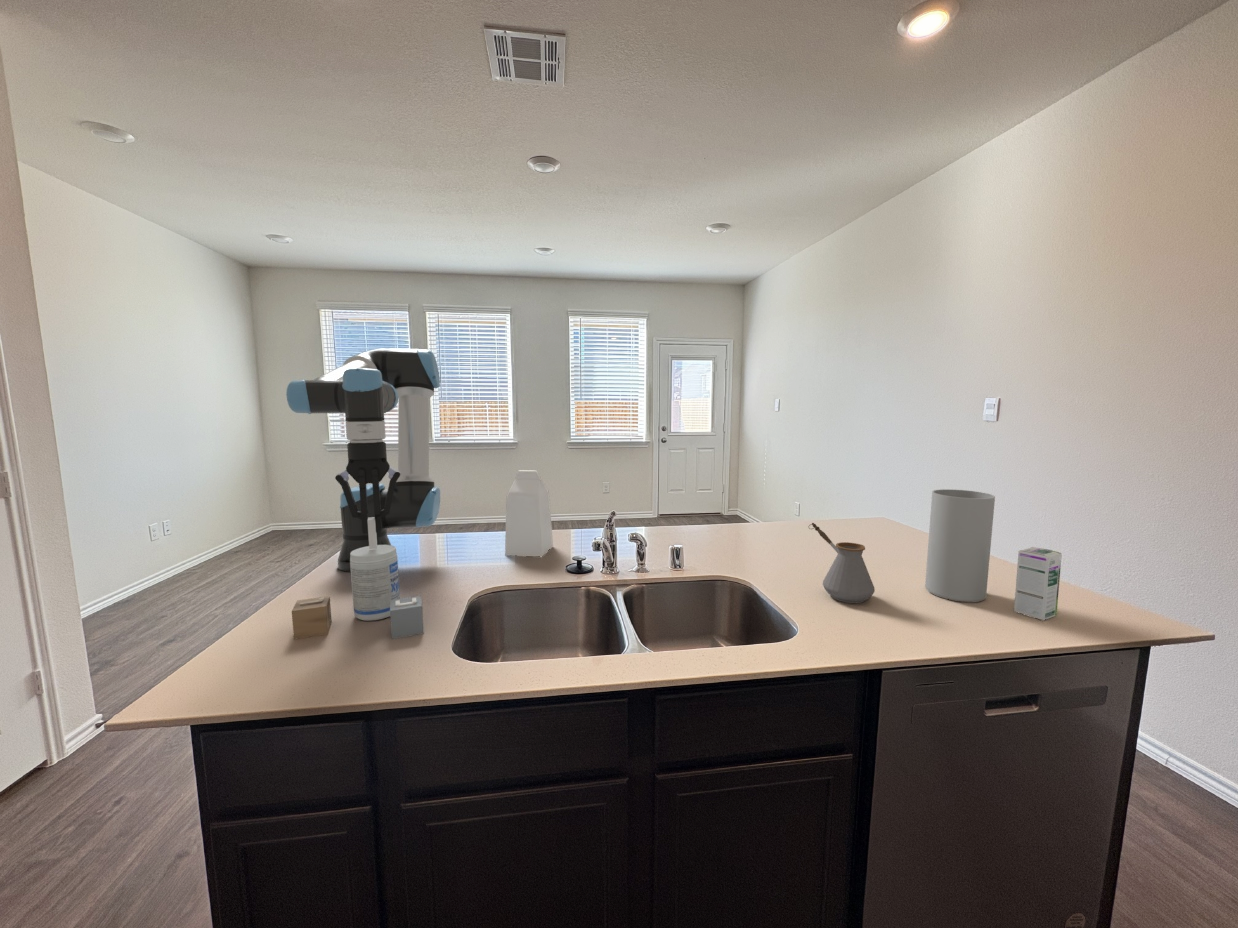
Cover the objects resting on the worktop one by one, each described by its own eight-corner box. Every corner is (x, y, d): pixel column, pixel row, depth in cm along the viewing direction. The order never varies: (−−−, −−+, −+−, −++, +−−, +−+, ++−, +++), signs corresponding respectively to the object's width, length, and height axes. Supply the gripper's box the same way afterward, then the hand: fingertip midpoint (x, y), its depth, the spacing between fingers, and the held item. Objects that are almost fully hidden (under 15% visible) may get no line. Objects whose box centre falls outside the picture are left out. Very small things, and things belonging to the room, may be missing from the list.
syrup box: (1044, 621, 107) (1050, 556, 106) (1012, 611, 113) (1018, 549, 111) (1056, 616, 110) (1063, 552, 108) (1025, 606, 115) (1031, 545, 114)
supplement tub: (404, 615, 112) (400, 551, 110) (356, 626, 106) (352, 559, 105) (396, 601, 120) (392, 541, 118) (351, 610, 114) (347, 548, 113)
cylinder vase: (995, 596, 121) (1005, 495, 118) (970, 607, 115) (979, 500, 112) (941, 581, 132) (948, 487, 129) (914, 590, 126) (921, 492, 122)
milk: (505, 555, 156) (502, 472, 152) (518, 545, 167) (516, 467, 164) (542, 557, 154) (540, 473, 150) (553, 546, 165) (551, 468, 162)
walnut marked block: (299, 627, 106) (297, 598, 105) (331, 622, 108) (329, 594, 108) (294, 639, 101) (291, 609, 100) (328, 633, 103) (326, 604, 102)
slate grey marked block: (392, 627, 106) (390, 598, 105) (422, 622, 108) (420, 594, 108) (391, 639, 101) (390, 609, 100) (423, 633, 103) (422, 604, 102)
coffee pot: (885, 604, 117) (889, 541, 115) (842, 608, 114) (846, 545, 113) (827, 574, 138) (830, 520, 136) (790, 577, 135) (792, 523, 133)
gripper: (330, 443, 102) (338, 555, 105) (399, 441, 107) (405, 547, 110) (334, 441, 109) (341, 546, 112) (399, 439, 114) (404, 539, 117)
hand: (373, 546), depth 111 cm, fingers closed
